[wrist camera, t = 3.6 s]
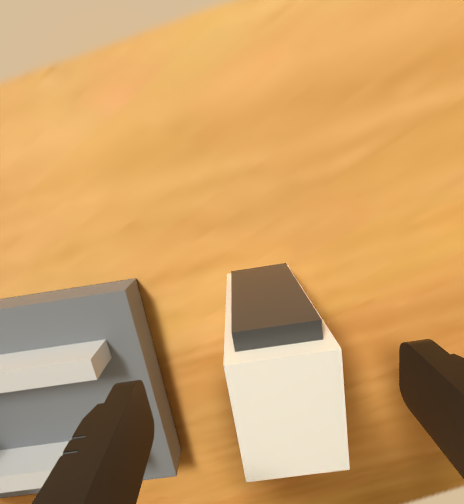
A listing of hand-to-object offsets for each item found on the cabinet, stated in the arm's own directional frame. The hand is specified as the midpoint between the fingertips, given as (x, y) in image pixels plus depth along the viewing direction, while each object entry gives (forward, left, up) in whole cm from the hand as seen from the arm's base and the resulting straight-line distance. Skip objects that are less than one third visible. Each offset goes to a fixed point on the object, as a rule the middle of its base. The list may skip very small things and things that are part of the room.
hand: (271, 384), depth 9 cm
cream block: (0, 0, -6) cm, 6 cm away
